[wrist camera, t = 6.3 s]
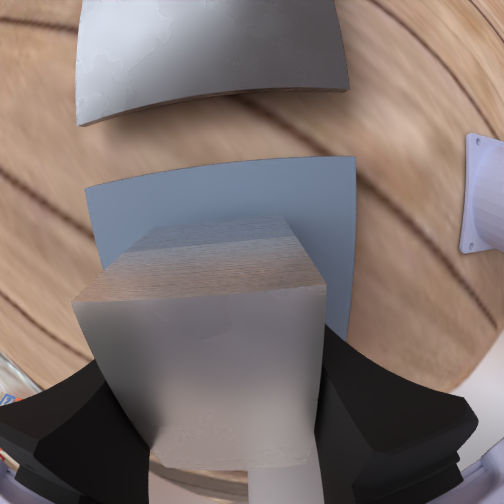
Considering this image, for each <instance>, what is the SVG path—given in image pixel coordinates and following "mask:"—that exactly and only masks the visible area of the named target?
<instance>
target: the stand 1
mask: <svg viewBox="0 0 504 504" xmlns="http://www.w3.org/2000/svg"><path fill="white" fill-rule="evenodd" d="M349 89H350V87H349V79H348V72H347V65H346V59H345V53H344V47H343V41H342V36H341V31H340V26H339V22H338V17H337V13H336V8H335V4H334V0H83V4H82V10H81V17H80V24H79V33H78V44H77V58H76V117H77V126H81V127H86V126H89V125H92V124H95V123H98V122H101V121H105V120H108V119H111V118H115V117H118V116H121V115H125V114H129V113H133V112H136V111H140V110H144V109H149V108H153V107H157V106H162V105H167V104H172V103H177V102H183V101H188V100H194V99H201V98H208V97H215V96H223V95H233V94H243V93H257V92H277V91H323V92H345V91H347V90H349Z"/></svg>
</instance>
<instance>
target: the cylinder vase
mask: <svg viewBox="0 0 504 504" xmlns="http://www.w3.org/2000/svg"><path fill="white" fill-rule="evenodd" d="M248 493H249V504H324V496H323V488H322V480H321V473H320V466H319V460H318V453H317V447H316V442H315V436H314V432H313V439H312V445H311V451H310V457H309V462H308V464H301V465H294V466H287V467H278V468H268V469H254V470H248Z"/></svg>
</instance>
